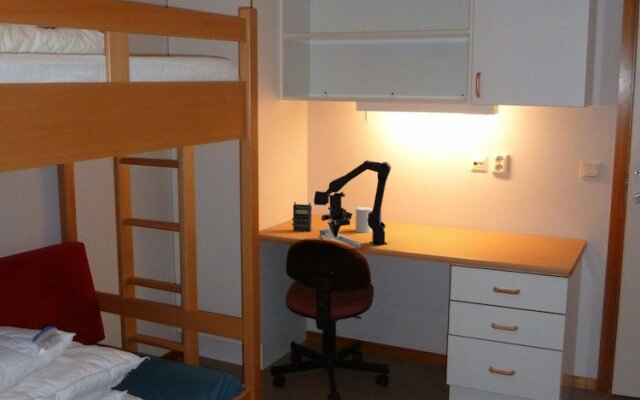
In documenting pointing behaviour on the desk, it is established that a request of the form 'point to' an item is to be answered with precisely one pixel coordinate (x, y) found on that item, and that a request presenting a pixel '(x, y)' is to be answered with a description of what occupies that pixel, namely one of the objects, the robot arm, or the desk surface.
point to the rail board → (341, 239)
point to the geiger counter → (301, 217)
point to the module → (329, 233)
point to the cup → (362, 219)
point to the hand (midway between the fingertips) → (335, 237)
